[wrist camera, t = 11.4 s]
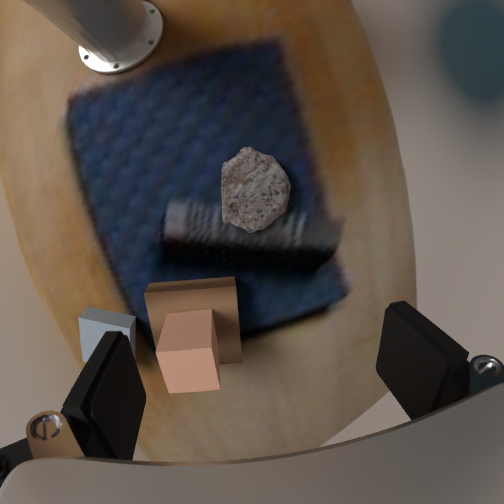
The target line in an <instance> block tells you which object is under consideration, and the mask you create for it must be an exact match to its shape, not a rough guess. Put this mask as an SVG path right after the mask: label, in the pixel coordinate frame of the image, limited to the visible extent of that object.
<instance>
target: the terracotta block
mask: <svg viewBox="0 0 504 504" xmlns="http://www.w3.org/2000/svg"><path fill="white" fill-rule="evenodd" d="M156 355H157V358H158V361H159V364H160V368H161V371H162V374H163V377H164V380H165V383H166V386H167V388H168V391H169V393H183V392H197V391H208V390H218V389H220V373H219V349H218V342H217V336H216V331H215V325H214V319H213V314H212V309H206V310H198V311H189V312H179V313H170V314H167V315H166V318H165V322H164V325H163V329H162V332H161V335H160V339H159V342H158V346H157V350H156Z"/></svg>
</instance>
